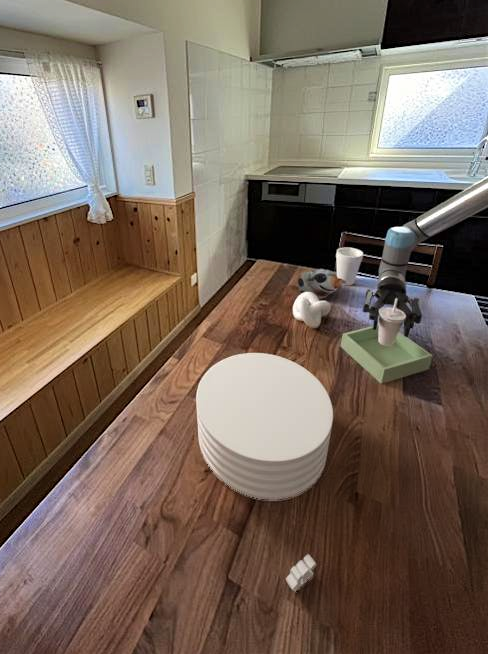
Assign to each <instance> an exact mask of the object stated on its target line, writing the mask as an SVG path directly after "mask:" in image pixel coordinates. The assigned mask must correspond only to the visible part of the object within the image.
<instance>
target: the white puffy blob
mask: <svg viewBox="0 0 488 654" xmlns="http://www.w3.org/2000/svg"><path fill="white" fill-rule="evenodd" d="M296 297H297V298H296V299H295V301H294V303H293V305H292V315H293V318H295V320H297V321H299V322H303V323H304V324H305V325H306V326H307V327H309V328H310V329H318V328H319V326H320V325H321V322H322V317H324V316H327V315H328V314H329V313H330V312H331V311H332V310H331V309H332V305H331V303H330V302H328V301H327V300H319V299H318V297H317V296H316V295H315V294H314V293H312V292H304V293H300V294H299V295H298V296H296Z"/></svg>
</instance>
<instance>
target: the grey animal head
mask: <svg viewBox="0 0 488 654" xmlns="http://www.w3.org/2000/svg"><path fill="white" fill-rule="evenodd" d="M296 284H297V289H298V290H299V292H300V294H302V293H304V292H312V293H314V294H315V295H316V296H317V297H318V299H319V301H321V300H322V299H324V298H327V297H328V296H329V295H331V294H333V293H334V292H336V291H338V290H340V289H341V288H344V287H345V286H346V285H345V284H346V281H344V280H342V279H340V278H338V277H337V273H334V271H332V270H329V269H324V268H318V269H314V270H313V271H308V272H303V273H301V274H299V275H298V277H297V280H296Z"/></svg>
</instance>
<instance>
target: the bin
mask: <svg viewBox="0 0 488 654" xmlns="http://www.w3.org/2000/svg"><path fill="white" fill-rule="evenodd" d="M378 333H379V324H377V328H376V330H373V325H371V326H368V327H363V328H360V329H356V330H351V331H347V332H345V333H342V335H341V337H342V338H341V341H340V348H342V350H343V351H344V352H346V353H347V355H349V356H350V357H351V358H352V359H353V360H354V361H356V363H358V364H359V365H360V366H361V367H362V368H363V369H364V370H365V371H366V372H368V373H369V374H370V375H371V376H372V377H373V378H374V379H375V380H376V381H377V382H378V383H379V384H385V383H389V382H391V381H395V380H398V379H402V378H405V377H408V376H412V375H416V374H418V373H422V372H425V371H428V370H430V367H431V364H432V360H433V357H434V354H432V353H431V352H428V351H427V349H424V348H423V347H422V346H420V345H419V344H418V343H416V342H414V341H413V340H412V339H410V338H409V337H404V333H402V332H401V331H399V333H398V335H397V337H396V339H395V342H394V344H393V345H392V346H389V347H388V346H384V345H381V344H380V343H379V342H378Z"/></svg>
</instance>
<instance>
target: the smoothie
mask: <svg viewBox="0 0 488 654" xmlns="http://www.w3.org/2000/svg"><path fill="white" fill-rule="evenodd" d="M397 301H398V298H396V299H395V303H394V306H393V307H392V306H383V307H381V308H380V309H379V313H378V325H379V333H378V342H379V343H380V344H381V345H384V346H388V347H389V346H392V345H393V344H394V342H395V339H396V337H397V335H398V333H399V332H400V330H401V328H402V326H403V325H404V321H405V320H406V314H405V313H404V312H403V311H401V310H399V309H397V308H396V305H397Z"/></svg>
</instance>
